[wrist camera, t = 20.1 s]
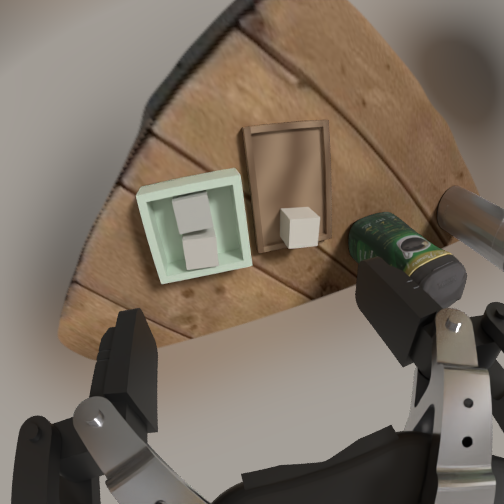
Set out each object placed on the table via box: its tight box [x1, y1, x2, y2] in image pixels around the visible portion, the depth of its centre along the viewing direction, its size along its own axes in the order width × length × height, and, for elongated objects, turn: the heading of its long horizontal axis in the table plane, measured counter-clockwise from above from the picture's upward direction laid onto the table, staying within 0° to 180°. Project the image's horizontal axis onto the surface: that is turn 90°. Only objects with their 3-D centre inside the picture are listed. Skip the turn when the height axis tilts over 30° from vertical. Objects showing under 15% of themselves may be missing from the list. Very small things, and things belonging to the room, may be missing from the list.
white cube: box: [280, 207, 320, 249], centre depth 38 cm, size 4×4×4 cm
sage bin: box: [136, 168, 252, 284], centre depth 36 cm, size 12×12×4 cm
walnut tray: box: [242, 120, 332, 253], centre depth 38 cm, size 11×17×1 cm, turn 7°
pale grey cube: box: [182, 226, 219, 270], centre depth 37 cm, size 4×4×4 cm
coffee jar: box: [348, 212, 467, 309], centre depth 37 cm, size 10×8×19 cm
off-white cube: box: [172, 190, 213, 234], centre depth 34 cm, size 4×4×4 cm
